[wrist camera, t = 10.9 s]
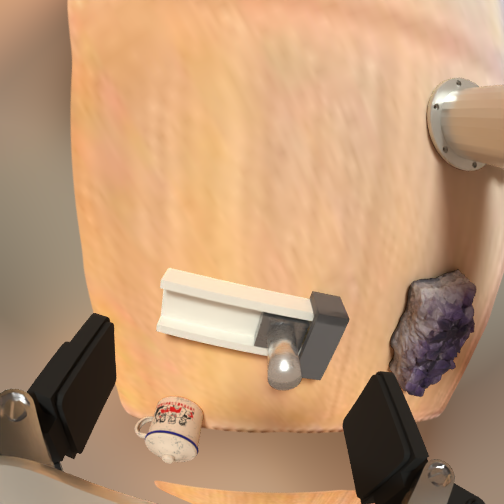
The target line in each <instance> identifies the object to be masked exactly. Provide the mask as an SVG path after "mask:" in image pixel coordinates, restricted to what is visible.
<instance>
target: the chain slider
mask: <svg viewBox="0 0 504 504" xmlns="http://www.w3.org/2000/svg"><path fill="white" fill-rule="evenodd" d="M309 325H310V324H309V321H308V320H303V319H298V318H292V317H287V316H282V315H277V314H272V313H267V312H261V316H260V319H259V323H258V326H257V329H256V333H255V336H254V346H260V347H265V348H267V354H268V383H269V384H270V386H272V387H273V388H275V389H278V390H289V389H292V388H295V387H296V386H297V385H299V383H300V382H301V379H302V376H301V369H300V362H299V355H298V352H299V350H300V347H301V345H303V343H304V341H305V338H306V336H307V334H308V331H309V329H310V326H309Z"/></svg>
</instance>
